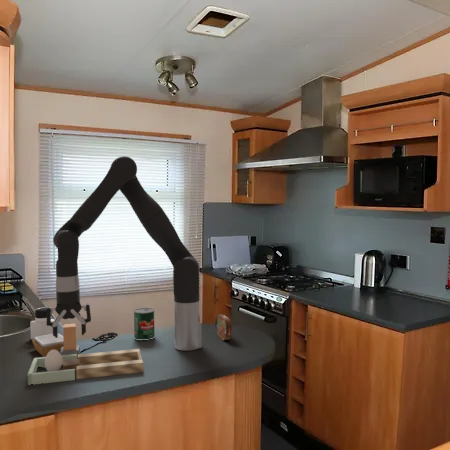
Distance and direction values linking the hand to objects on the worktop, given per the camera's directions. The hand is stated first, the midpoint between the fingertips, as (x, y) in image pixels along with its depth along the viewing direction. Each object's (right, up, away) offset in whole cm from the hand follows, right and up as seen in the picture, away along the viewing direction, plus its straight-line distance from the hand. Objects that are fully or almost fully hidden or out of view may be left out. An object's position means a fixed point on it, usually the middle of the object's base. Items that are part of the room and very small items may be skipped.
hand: (69, 335), depth 157 cm
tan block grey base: (-1, -8, +3) cm, 8 cm away
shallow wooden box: (+16, -8, -8) cm, 19 cm away
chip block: (+4, -9, -10) cm, 14 cm away
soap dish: (-10, -8, +9) cm, 15 cm away
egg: (-1, -9, -12) cm, 15 cm away
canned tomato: (+21, -7, +24) cm, 33 cm away
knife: (+4, -8, +17) cm, 19 cm away
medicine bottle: (-18, -7, +24) cm, 31 cm away
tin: (+52, -7, +24) cm, 58 cm away
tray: (-1, -9, -12) cm, 15 cm away
